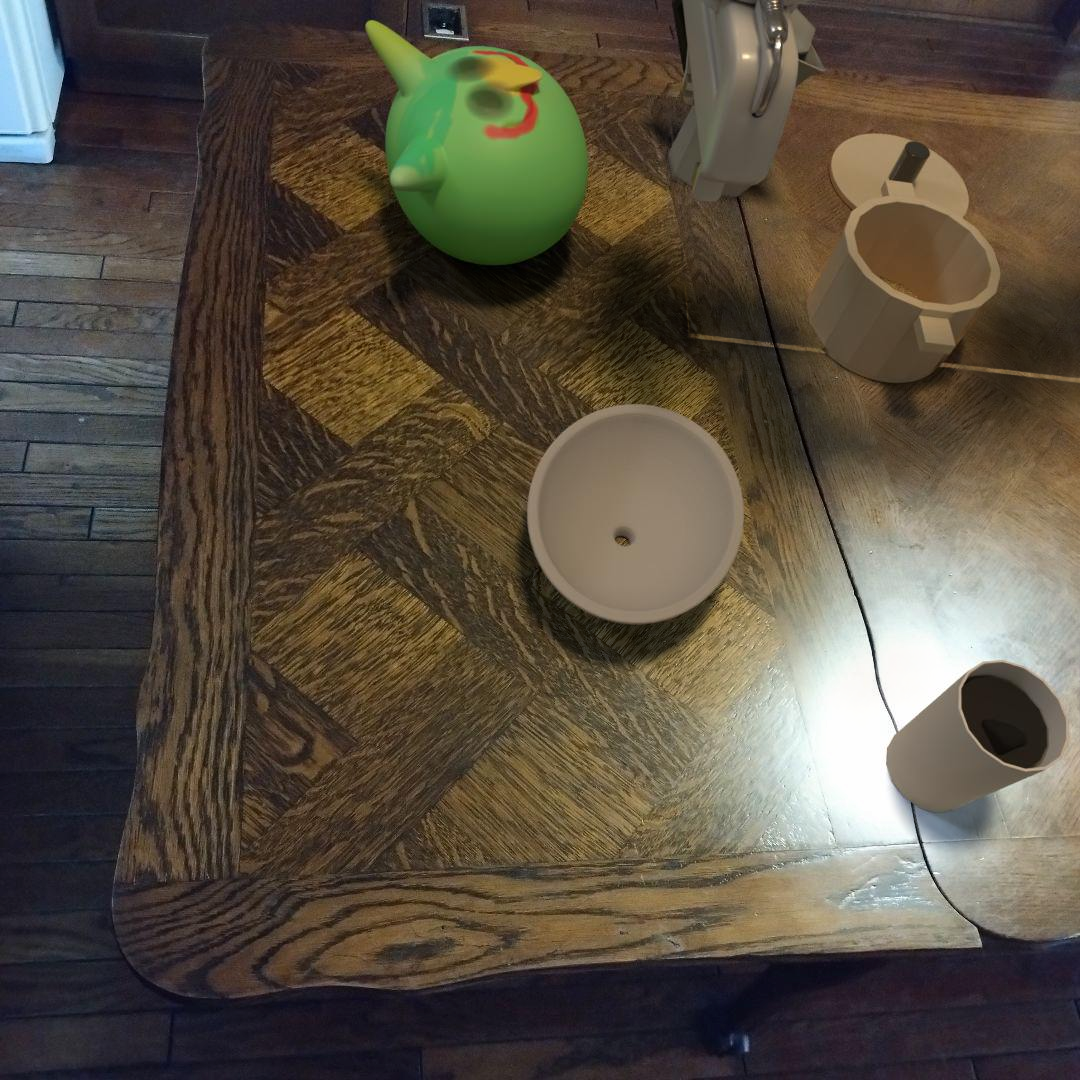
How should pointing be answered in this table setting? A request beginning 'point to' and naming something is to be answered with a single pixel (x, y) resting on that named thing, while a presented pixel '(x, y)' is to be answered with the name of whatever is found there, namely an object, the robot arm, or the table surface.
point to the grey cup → (979, 737)
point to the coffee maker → (687, 141)
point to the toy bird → (481, 150)
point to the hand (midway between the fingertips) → (698, 145)
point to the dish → (635, 514)
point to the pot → (914, 262)
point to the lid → (894, 171)
